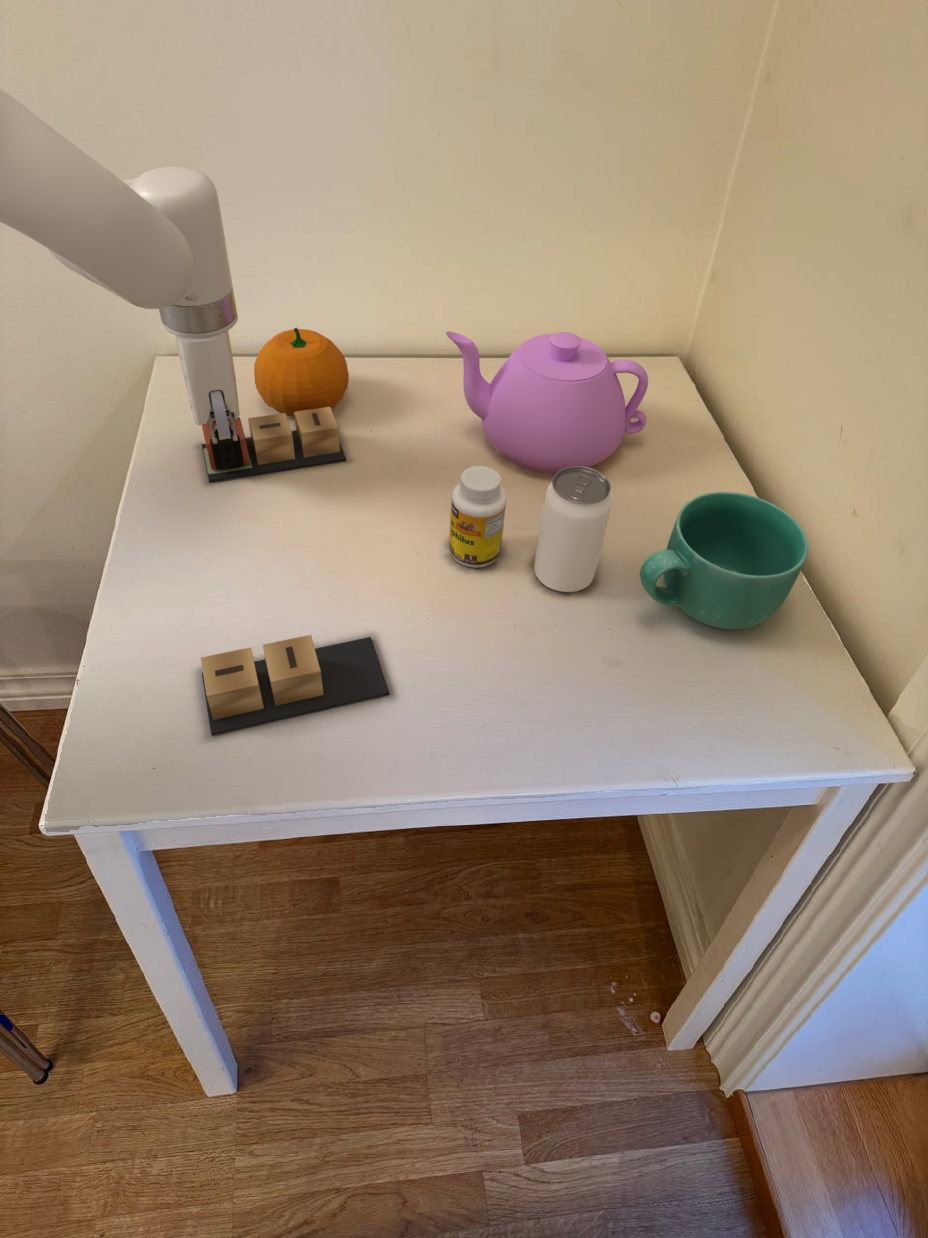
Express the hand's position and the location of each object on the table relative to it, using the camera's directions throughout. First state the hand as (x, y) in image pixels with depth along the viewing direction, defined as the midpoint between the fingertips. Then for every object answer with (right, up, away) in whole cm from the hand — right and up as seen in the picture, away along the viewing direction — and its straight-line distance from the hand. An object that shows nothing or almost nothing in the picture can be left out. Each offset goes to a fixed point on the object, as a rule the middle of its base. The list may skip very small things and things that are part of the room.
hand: (226, 452), depth 97 cm
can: (+38, -15, -9) cm, 42 cm away
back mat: (+5, 0, +2) cm, 5 cm away
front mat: (+12, -26, -20) cm, 35 cm away
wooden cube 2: (+12, -25, -21) cm, 35 cm away
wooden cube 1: (+7, -26, -22) cm, 35 cm away
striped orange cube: (0, 0, 0) cm, 1 cm away
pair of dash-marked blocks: (+8, +1, +3) cm, 8 cm away
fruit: (+7, +8, +10) cm, 15 cm away
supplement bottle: (+29, -12, -7) cm, 32 cm away
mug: (+52, -18, -11) cm, 56 cm away
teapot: (+38, +3, +7) cm, 38 cm away
